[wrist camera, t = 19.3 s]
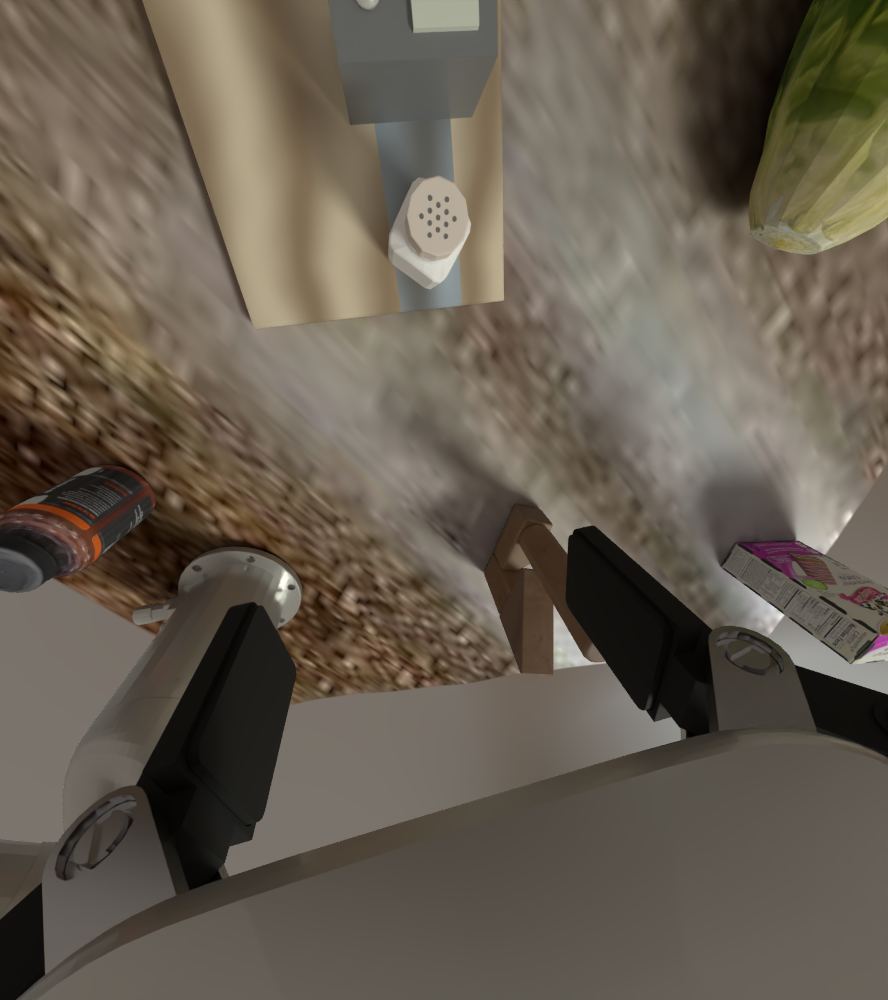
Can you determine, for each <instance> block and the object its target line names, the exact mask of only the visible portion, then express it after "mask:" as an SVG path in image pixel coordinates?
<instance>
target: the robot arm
mask: <svg viewBox="0 0 888 1000" xmlns="http://www.w3.org/2000/svg"><path fill="white" fill-rule="evenodd" d="M178 592H179V594H178V596H177V597H175V598H170V599H168V600H167V601H166V602H165V603H161V604H159V603H155V604H149V605H144V606H139V607H137V608H136V609H135V610H134V612H133V615H132V618H133V621H134V623H135V624H137V625H141V624H147V623H152V622H158V621H160V620H165V619H166V620H167V622H166V623H163V624H162V625H161V626H160V631H159V633H158V634H157V636H156V637H155V638H154V640H153V641H152V643H151V644H150V645H149V647H148V648H147V649H146V651H145V652H144V654H143V655H142V656H141V658H140V659H139V660H138V662H137V663H136V665H135V666H134V667H133V669H132V670H131V671H130V673H129V674H128V676H127V677H126V678H125V680H124V681H123V683H122V684H121V685H120V687H119V688H118V689H117V691H116V692H115V693H114V695H113V696H112V698H111V699H110V700H109V702H108V703H107V705H106V706H105V707H104V709H103V710H102V711H101V713H100V714H99V716H98V717H97V718H96V719H95V721H94V722H93V724H92V725H91V727H90V728H89V729H88V731H87V732H86V734H85V735H84V736H83V738H82V739H81V741H80V743H79V744H78V746H77V747H76V749H75V752H74V754H73V756H72V758H71V760H70V763H69V766H68V769H67V772H66V776H65V782H64V789H63V823H64V824H63V825H64V834H63V835H62V836H61V838H60V839H59V841H58V842H42V843H34V842H23V841H12V840H1V839H0V1000H888V695H887V694H884V693H881V692H878V691H875V690H871V689H869V688H865V687H862V686H859V685H856V684H853V683H850V682H847V681H843V680H840V679H837V678H834V677H831V676H828V675H824V674H821V673H818V672H815V671H812V670H809V669H806V668H803V667H799V666H796V665H794V663H793V661H792V660H791V658H790V656H789V655H788V654H787V653H786V652H785V651H784V650H783V649H782V648H781V646H779V645H778V644H776V643H775V642H773V641H772V640H771V639H769V638H767V637H765V636H763V635H761V634H759V633H757V632H755V631H752V630H749V629H746V628H742V627H736V626H721V627H719V628H716V629H714V630H712V629H711V628H709V627H708V626H707V625H706V624H705V623H704V622H703V621H702V620H701V619H700V618H698V617H697V616H696V615H695V614H694V613H693V612H692V611H691V610H689V609H688V608H687V607H686V606H685V605H684V604H683V603H681V602H680V601H679V600H678V599H677V598H676V597H675V596H674V595H672V594H671V593H670V592H669V591H668V590H667V589H666V588H664V587H663V586H662V585H661V584H660V583H659V582H658V581H657V580H655V579H654V578H653V577H652V576H651V575H650V574H649V573H647V572H646V571H645V570H644V569H643V568H642V567H641V566H640V565H638V564H637V563H636V562H635V561H634V560H633V559H632V558H630V557H629V556H628V555H627V554H626V553H625V552H624V551H623V550H621V549H620V548H619V547H618V546H617V545H616V544H615V543H613V542H612V541H611V540H610V539H609V538H608V537H607V536H606V535H604V534H603V533H602V532H601V531H600V530H599V529H598V528H596V527H595V526H588V527H583V528H579V529H575V530H574V531H573V535H570V536H569V539H568V557H567V576H566V595H565V599H566V603H567V606H568V608H569V610H570V611H571V613H572V614H573V616H574V617H575V618H576V620H577V621H578V623H579V624H580V626H581V627H582V628H583V630H584V631H585V633H586V634H587V636H588V637H589V638H590V640H591V641H592V643H593V644H594V646H595V647H596V648H597V650H598V651H599V653H600V654H601V656H602V657H603V658H604V660H605V661H606V663H607V664H608V666H609V667H610V668H611V670H612V671H613V673H614V674H615V676H616V677H617V678H618V680H619V681H620V682H621V684H622V686H623V687H624V688H625V690H626V691H627V693H628V694H629V695H630V697H631V699H632V700H633V701H634V703H635V704H636V705H637V707H638V708H639V709H641V710H646V711H647V712H648V714H649V715H650V717H651V718H652V719H653V721H654V722H655V721H659V720H662V719H666V718H669V717H672V718H673V720H674V721H675V722H676V723H677V725H678V726H679V727H680V728H681V740H680V741H677V742H673V743H669V744H666V745H662V746H658V747H655V748H651V749H647V750H644V751H640V752H637V753H633V754H629V755H626V756H622V757H619V758H616V759H612V760H609V761H605V762H602V763H599V764H595V765H592V766H589V767H585V768H582V769H578V770H575V771H572V772H568V773H565V774H561V775H558V776H555V777H551V778H548V779H545V780H541V781H538V782H535V783H531V784H528V785H525V786H521V787H518V788H515V789H511V790H508V791H505V792H501V793H498V794H495V795H491V796H488V797H485V798H481V799H478V800H475V801H471V802H468V803H465V804H461V805H458V806H455V807H452V808H448V809H445V810H441V811H438V812H435V813H432V814H428V815H425V816H422V817H419V818H415V819H412V820H409V821H405V822H402V823H398V824H396V825H392V826H389V827H385V828H382V829H379V830H376V831H372V832H369V833H366V834H363V835H359V836H357V837H353V838H350V839H347V840H343V841H340V842H337V843H333V844H330V845H327V846H324V847H320V848H317V849H314V850H311V851H307V852H304V853H301V854H298V855H295V856H291V857H288V858H285V859H282V860H279V861H276V862H273V863H270V864H266V865H263V866H260V867H257V868H254V869H251V870H248V871H245V872H242V873H239V874H236V875H233V876H230V877H229V875H228V873H227V870H226V868H225V865H224V863H225V860H226V856H227V853H228V849H229V847H230V846H233V845H236V844H240V843H243V842H247V841H250V840H252V837H253V833H254V829H255V825H256V822H258V821H260V820H261V819H262V817H263V815H264V812H265V808H266V804H267V799H268V795H269V791H270V786H271V782H272V778H273V773H274V769H275V765H276V761H277V756H278V752H279V748H280V743H281V738H282V734H283V730H284V726H285V722H286V717H287V713H288V709H289V704H290V700H291V696H292V691H293V687H294V683H295V678H296V668H295V664H294V662H293V660H292V658H291V657H290V655H289V653H288V651H287V649H286V647H285V645H284V643H283V642H282V640H281V638H280V636H279V634H278V632H277V628H278V627H281V626H282V625H284V624H285V623H287V622H288V621H289V620H290V619H291V618H293V617H294V615H295V614H296V612H297V611H298V609H299V606H300V603H301V599H302V585H301V583H300V580H299V578H298V576H297V575H296V573H295V572H294V571H293V570H292V568H291V567H290V566H289V565H288V564H286V563H285V562H283V561H282V560H281V559H279V558H277V557H275V556H274V555H272V554H270V553H267V552H264V551H261V550H258V549H253V548H248V547H236V546H232V547H221V548H217V549H213V550H210V551H207V552H205V553H203V554H201V555H199V556H198V557H196V558H195V559H194V560H192V561H191V563H190V564H189V565H188V566H187V567H186V568H185V570H184V571H183V573H182V574H181V576H180V579H179V583H178Z"/></svg>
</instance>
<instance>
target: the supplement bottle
mask: <svg viewBox="0 0 888 1000" xmlns="http://www.w3.org/2000/svg"><path fill="white" fill-rule="evenodd" d="M155 503H156V499H155V494H154V492H153V490H152V488H151V487H150V485H149V484H148V483H147V482H146V481H145V480H144V479H143V478H142V477H141V476H139V475H138V474H136V473H134V472H132V471H130V470H128V469H126V468H123V467H119V466H114V465H99V466H94V467H91V468H89V469H87V470H84V471H82V472H80V473H78V474H76V475H74V476H73V477H71V478H68V479H67V480H65V481H63V482H61V483H59V484H57V485H56V486H53V487H51V488H50V489H48V490H46V491H44V492H42V493H40V494H38V495H36V496H34V497H32V498H30V499H28V500H26V501H24V502H22V503H20V504H18V505H16V506H14V507H13V508H11V509H9V510H7V511H5V512H3V513H2V514H0V590H1V591H7V592H17V593H19V592H27V591H31V590H34V589H36V588H38V587H39V586H40V585H42V584H43V583H44V582H45V581H47V580H49V579H51V578H55V577H64V576H69V575H73V574H75V573H78V572H80V571H82V570H83V569H84V568H86V567H88V566H89V565H90V564H91V563H93V562H94V561H95V560H96V559H97V558H99V557H100V556H101V555H102V554H103V553H105V552H106V551H107V550H108V549H109V548H111V547H112V546H113V545H114V544H115V543H117V542H118V541H119V540H120V539H121V538H123V537H124V536H125V535H126V534H127V533H128V532H130V531H131V530H132V529H133V528H134V527H135V526H137V525H138V524H139V523H140V522H141V521H143V520H144V519H145V518H146V517H147V516H148V515H149V514H150V513H151V512H152V511H153V509H154V507H155Z"/></svg>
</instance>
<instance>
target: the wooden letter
mask: <svg viewBox="0 0 888 1000" xmlns="http://www.w3.org/2000/svg"><path fill="white" fill-rule="evenodd" d="M551 528H552V523H551V522H550V520H549V519H548V518H547V517H546V515H545V514H544V513H543V512H542V510H540V509H537V508H532V507H527V506H523V505H518V504H515V506H514V508H513V510H512V512H511V514H510V517H509V519H508V521H507V523H506V526H505V528H504V530H503V532H502V534H501V537H500V539H499V541H498V543H497V546H496V548H495V550H494V553H493V554H492V556H491V559H490V561H489V563H488V565H487V567H486V570H485V572H484V575H485V577H486V580H487V583H488V585H489V588H490V591H491V593H492V596H493V599H494V601H495V604H496V607H497V609H498V612H499V614H500V619H501V622H502V625H503V627H504V630H505V633H506V635H507V638H508V641H509V643H510V646H511V649H512V651H513V654H514V657H515V659H516V662H517V665H518V667H519V670H520V672H521V673H522V674H531V675H547V676H553V604H554V606H555V607H556V609H557V611H558V613H559V614H560V616H561V618H562V619H563V621H564V623H565V625H566V626H567V628H568V630H569V632H570V633H571V635H572V637H573V638H574V640H575V642H576V644H577V645H578V647H579V649H580V651H581V652H582V654H583V656H584V657H585V658H586V659H588V660H589V661H591V662H605V660H604V658H603V657H602V656H601V654H600V653H599V651H598V650H597V648H596V647H595V646H594V644H593V643H592V641H591V640H590V638H589V637H588V636H587V634H586V633H585V631H584V630H583V628H582V627H581V626H580V624H579V623H578V621H577V620H576V618H575V617H574V616H573V614H572V613H571V611H570V610H569V608H568V606H567V603H566V599H565V595H566V576H567V557H568V554H567V553H566V552H565V551H564V549H563V548H562V547H561V545H560V544H559V543H558V541H557V540H556V539H555V537H554V536H553V535H552V533H551V532H550V530H551ZM529 564H531V566H532V568H533V569H534V570H533V569H527V568H524V569H523V567H525V566H527V565H529Z"/></svg>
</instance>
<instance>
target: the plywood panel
mask: <svg viewBox="0 0 888 1000" xmlns="http://www.w3.org/2000/svg"><path fill="white" fill-rule="evenodd" d="M142 1H143V4H144V7H145V10H146V13H147V16H148V19H149V22H150V25H151V28H152V31H153V34H154V37H155V39H156V42H157V45H158V48H159V51H160V54H161V57H162V60H163V63H164V66H165V69H166V72H167V75H168V78H169V81H170V83H171V86H172V89H173V92H174V95H175V98H176V101H177V104H178V107H179V110H180V113H181V116H182V119H183V122H184V125H185V127H186V130H187V133H188V136H189V139H190V142H191V145H192V148H193V151H194V154H195V157H196V160H197V163H198V166H199V168H200V171H201V174H202V177H203V180H204V183H205V186H206V189H207V192H208V195H209V198H210V201H211V204H212V207H213V210H214V212H215V215H216V218H217V221H218V224H219V227H220V230H221V233H222V236H223V239H224V242H225V245H226V248H227V251H228V254H229V256H230V259H231V262H232V265H233V268H234V271H235V274H236V277H237V280H238V283H239V286H240V289H241V292H242V295H243V298H244V300H245V303H246V306H247V309H248V312H249V315H250V318H251V321H252V324H253V327H254V329H260V328H269V327H277V326H286V325H295V324H304V323H312V322H321V321H330V320H338V319H347V318H356V317H365V316H373V315H382V314H391V313H400V312H408V311H417V310H426V309H434V308H443V307H452V306H461V305H469V304H478V303H487V302H496V301H503V300H504V277H503V172H502V68H501V0H497V15H498V57H497V59H496V61H495V64H494V66H493V68H492V71H491V73H490V76H489V78H488V80H487V83H486V85H485V87H484V90H483V92H482V95H481V97H480V99H479V102H478V104H477V106H476V109H475V111H474V113H473V116H472V117H470V118H455V119H439V120H423V121H407V122H391V123H375V124H359V125H350V122H349V116H348V111H347V106H346V101H345V96H344V91H343V86H342V80H341V75H340V70H339V65H338V59H337V53H336V47H335V41H334V35H333V29H332V23H331V17H330V11H329V5H328V0H142ZM438 175H439V176H441V177H443V178H446V179H448V180H450V181H452V182H454V183H455V184H456V185H457V187H458V188H459V190H460V192H461V193H462V195H463V196H464V198H465V199H466V204H467V211H468V217H469V219H470V222H471V227H470V233H469V235H468V237H467V239H466V241H465V243H464V245H463V247H462V249H461V251H460V253H459V255H458V257H457V258H456V260H455V262H454V264H453V266H452V268H451V270H450V272H449V273H448V275H447V277H446V279H444V280H443V281H442V282H441V283H440V284H438V285H437V286H435V287H433V288H432V289H426V288H424V287H423V286H421V285H420V284H418V283H417V282H416V281H414V280H413V279H412V278H410V277H409V276H408V275H406V274H405V273H404V272H402V271H401V270H400V269H398V268H397V267H396V266H394V265H393V264H392V263H391V261H390V260H389V258H388V248H389V234H390V232H391V229H392V227H393V225H394V222H395V220H396V218H397V215H398V213H399V211H400V208H401V206H402V204H403V202H404V200H405V197H406V195H407V193H408V191H409V189H410V187H411V184H412V182H414V181H415V180H416V179H417V178H419V177H420V178H430V177H434V176H438Z"/></svg>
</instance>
